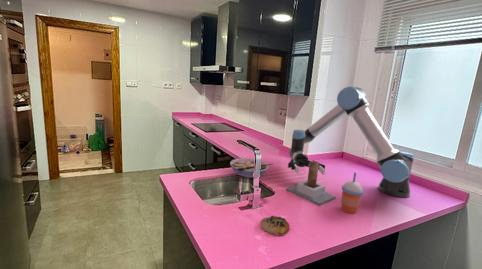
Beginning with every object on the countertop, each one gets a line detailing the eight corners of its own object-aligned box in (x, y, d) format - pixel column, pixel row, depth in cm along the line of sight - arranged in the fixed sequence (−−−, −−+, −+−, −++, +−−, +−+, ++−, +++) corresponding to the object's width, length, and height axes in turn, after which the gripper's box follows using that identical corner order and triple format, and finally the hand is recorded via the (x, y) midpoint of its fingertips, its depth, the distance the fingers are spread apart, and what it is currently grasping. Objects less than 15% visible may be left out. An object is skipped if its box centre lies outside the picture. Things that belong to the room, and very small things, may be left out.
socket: (335, 198, 126) (336, 188, 125) (319, 205, 117) (321, 195, 115) (302, 184, 140) (303, 176, 139) (286, 190, 131) (287, 181, 130)
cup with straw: (347, 216, 109) (353, 176, 105) (334, 206, 117) (339, 169, 114) (364, 214, 111) (371, 176, 108) (350, 204, 120) (356, 169, 116)
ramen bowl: (253, 167, 165) (254, 155, 163) (277, 179, 146) (278, 165, 145) (220, 172, 150) (221, 159, 149) (242, 186, 132) (243, 171, 130)
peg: (316, 192, 128) (320, 162, 125) (311, 194, 125) (315, 164, 122) (309, 189, 131) (313, 160, 128) (304, 191, 128) (308, 161, 125)
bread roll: (286, 220, 102) (287, 210, 100) (291, 240, 91) (293, 229, 90) (258, 219, 102) (259, 209, 100) (261, 240, 91) (262, 228, 89)
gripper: (320, 166, 151) (333, 179, 130) (278, 163, 150) (285, 176, 129) (321, 154, 149) (335, 165, 129) (280, 151, 149) (287, 163, 128)
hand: (310, 171), depth 129 cm, fingers open, 13 cm apart
